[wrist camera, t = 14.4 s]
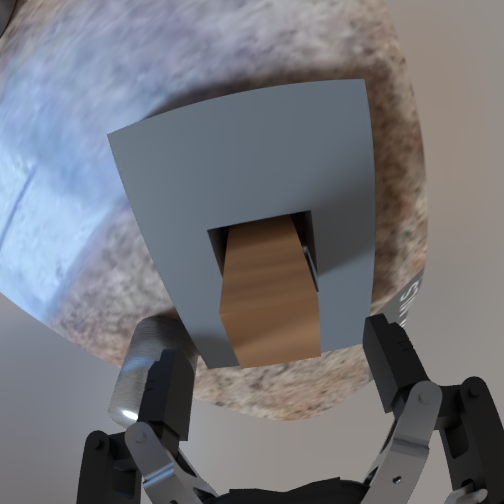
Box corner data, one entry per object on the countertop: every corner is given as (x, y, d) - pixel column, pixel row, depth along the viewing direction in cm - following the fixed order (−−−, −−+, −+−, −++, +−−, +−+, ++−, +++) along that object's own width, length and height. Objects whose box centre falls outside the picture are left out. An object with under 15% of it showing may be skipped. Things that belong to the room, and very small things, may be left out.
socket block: (133, 126, 16) (106, 134, 12) (340, 82, 14) (364, 79, 11) (211, 336, 26) (208, 368, 22) (353, 311, 25) (365, 342, 21)
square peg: (230, 214, 19) (218, 314, 11) (286, 203, 19) (317, 297, 10) (243, 260, 21) (241, 368, 13) (293, 251, 21) (320, 355, 12)
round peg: (124, 319, 25) (91, 402, 16) (185, 312, 24) (165, 408, 16) (152, 361, 28) (134, 436, 20) (208, 357, 28) (200, 441, 19)
